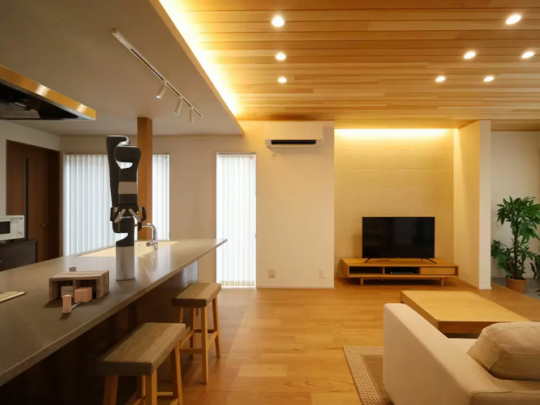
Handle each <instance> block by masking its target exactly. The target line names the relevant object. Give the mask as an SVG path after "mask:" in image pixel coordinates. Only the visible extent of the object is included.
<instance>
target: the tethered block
mask: <svg viewBox="0 0 540 405" xmlns="http://www.w3.org/2000/svg"><path fill="white" fill-rule="evenodd" d="M74 297H75V300H74V303H75V304H73V305H72V297H71V295H65V296H63V298H62V313H63V314H69V313H71V312H72V310H73V309H75V308H76V307H78V306H79V305H80V304H82V303H88V302H89V301H91V300H92V299H93V292H92V287H84V288H78V289H77V290H75V291H74Z"/></svg>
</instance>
